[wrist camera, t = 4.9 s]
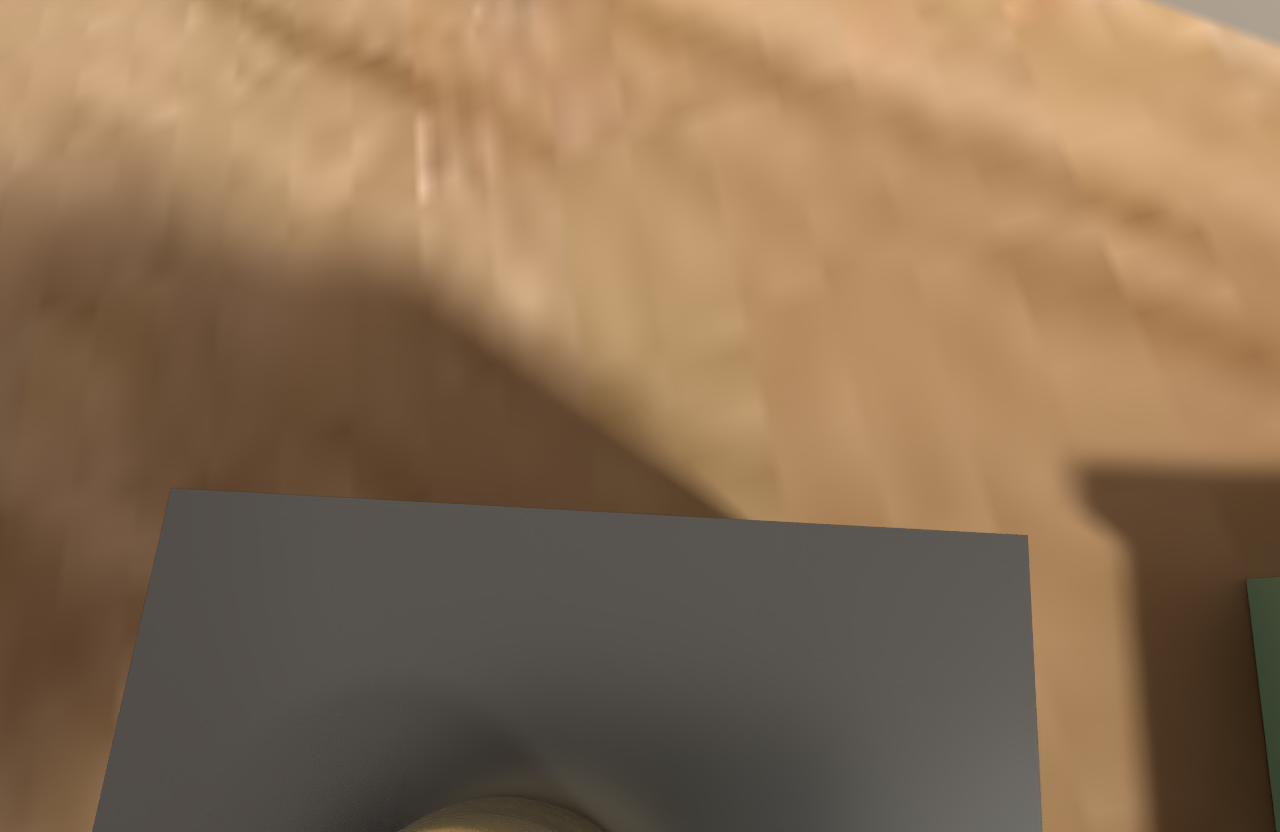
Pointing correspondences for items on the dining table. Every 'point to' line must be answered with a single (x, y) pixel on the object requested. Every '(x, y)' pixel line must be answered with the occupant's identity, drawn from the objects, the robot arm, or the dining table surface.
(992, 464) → the dining table surface
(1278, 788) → the coupler stand
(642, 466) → the dining table surface
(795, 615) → the block
